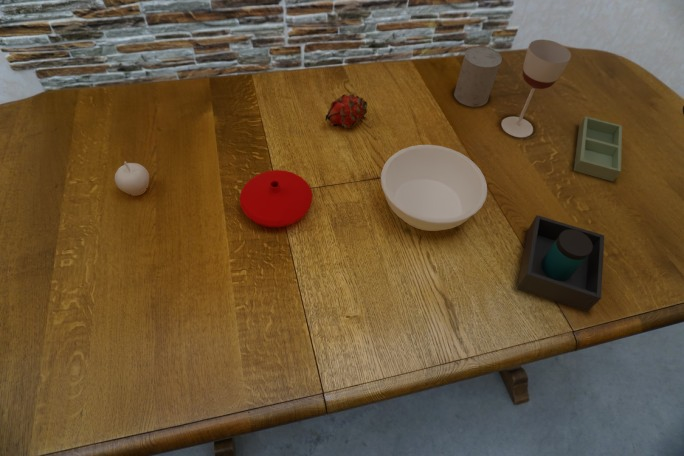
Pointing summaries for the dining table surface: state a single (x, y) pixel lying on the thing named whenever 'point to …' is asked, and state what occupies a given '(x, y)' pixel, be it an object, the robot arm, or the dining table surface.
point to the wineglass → (538, 78)
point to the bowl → (433, 187)
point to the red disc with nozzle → (276, 198)
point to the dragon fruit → (347, 111)
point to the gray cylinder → (477, 76)
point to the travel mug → (566, 254)
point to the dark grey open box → (571, 292)
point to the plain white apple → (132, 178)
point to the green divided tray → (599, 149)
